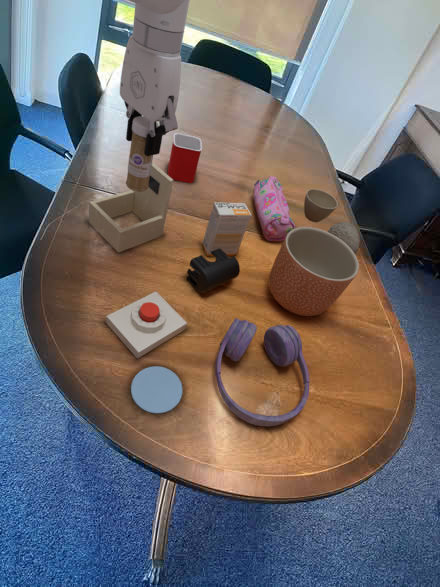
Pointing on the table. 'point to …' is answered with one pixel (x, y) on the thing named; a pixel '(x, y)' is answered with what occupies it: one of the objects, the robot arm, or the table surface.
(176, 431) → the table surface
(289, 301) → the planter
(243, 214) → the supplement box
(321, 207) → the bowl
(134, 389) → the coaster
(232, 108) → the table surface
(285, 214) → the pencil case
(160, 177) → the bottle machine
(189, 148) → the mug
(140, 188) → the sprinkles bottle
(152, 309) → the release button
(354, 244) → the decorative stone
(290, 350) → the headphones
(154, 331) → the button block
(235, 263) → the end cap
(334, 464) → the table surface
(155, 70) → the robot arm
